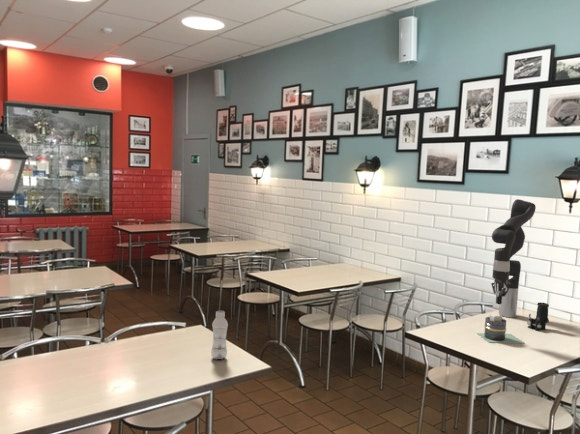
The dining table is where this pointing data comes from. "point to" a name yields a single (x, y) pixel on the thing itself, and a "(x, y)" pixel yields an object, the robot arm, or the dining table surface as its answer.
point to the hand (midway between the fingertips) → (498, 303)
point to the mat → (508, 339)
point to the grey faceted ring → (495, 329)
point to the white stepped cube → (495, 318)
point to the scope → (539, 317)
